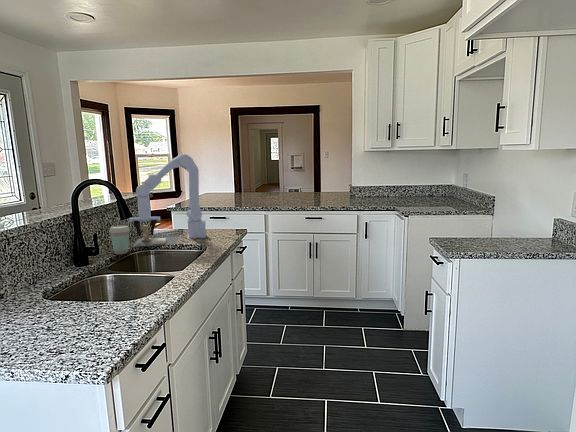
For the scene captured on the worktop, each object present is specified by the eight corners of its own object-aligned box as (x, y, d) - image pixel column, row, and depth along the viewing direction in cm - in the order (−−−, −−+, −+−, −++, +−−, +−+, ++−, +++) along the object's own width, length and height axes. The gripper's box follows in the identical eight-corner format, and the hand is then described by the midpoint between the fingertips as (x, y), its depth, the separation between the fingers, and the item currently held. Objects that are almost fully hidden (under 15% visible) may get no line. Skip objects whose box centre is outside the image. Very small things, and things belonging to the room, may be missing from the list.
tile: (166, 237, 194) (165, 240, 188) (166, 241, 194) (165, 243, 189) (153, 238, 193) (152, 241, 187) (154, 241, 193) (152, 244, 187)
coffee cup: (135, 250, 177) (133, 225, 176) (123, 255, 169) (121, 228, 167) (119, 250, 180) (117, 224, 178) (106, 254, 171) (104, 228, 169)
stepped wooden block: (151, 240, 198) (150, 224, 196) (150, 241, 194) (149, 226, 192) (143, 240, 197) (141, 225, 196) (141, 242, 193) (140, 226, 192)
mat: (178, 237, 205) (178, 236, 205) (175, 245, 188) (175, 244, 188) (138, 239, 201) (138, 238, 201) (132, 247, 184) (132, 246, 184)
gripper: (127, 210, 187) (129, 237, 189) (158, 209, 190) (160, 236, 192) (130, 208, 194) (132, 234, 196) (160, 207, 197) (161, 233, 199)
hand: (146, 235), depth 195 cm, fingers open, 5 cm apart
